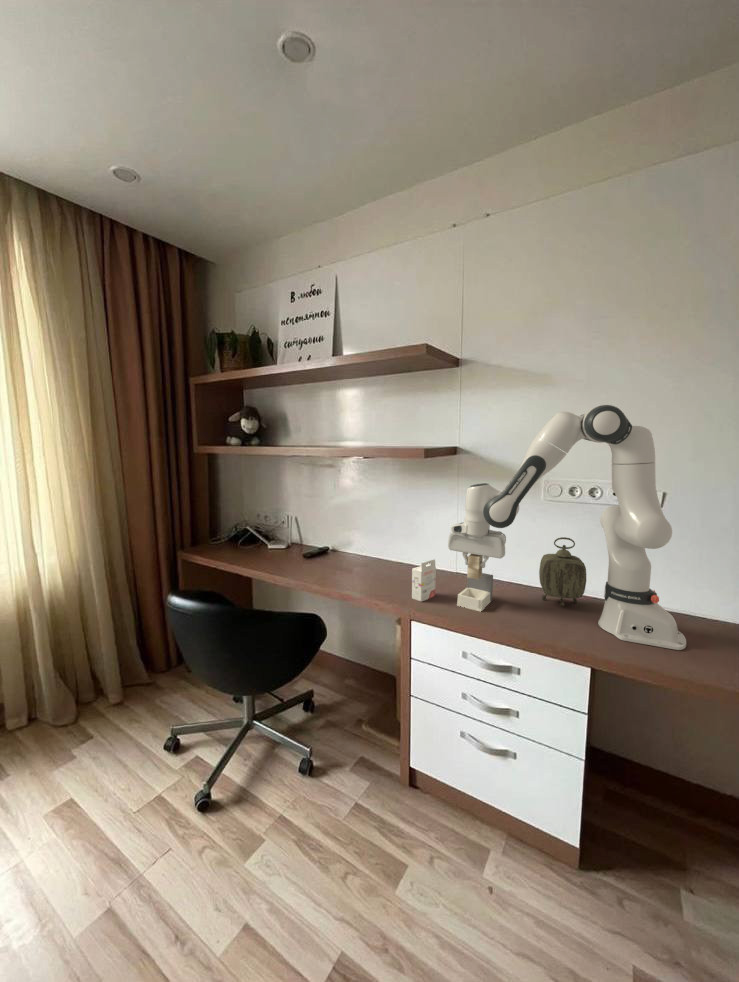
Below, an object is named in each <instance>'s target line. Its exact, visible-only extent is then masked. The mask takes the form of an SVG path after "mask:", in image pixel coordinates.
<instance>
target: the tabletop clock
mask: <svg viewBox="0 0 739 982" xmlns="http://www.w3.org/2000/svg"><path fill="white" fill-rule="evenodd" d="M559 540H560V541H561V540H568V541H571V542H572V543H573V544H572V546H566V545H565V544H563V545H562V546H561V545H557V544H556V542H557V541H559ZM553 545H554V547H556V548H558V550H557V551H556V553H547V554H543V555H542V557H541V560H540V563H539V569H538V570H539V571H538V576H539V583H540V586H541V589H542V591H543V593H544V594H545V595H542V596H541V599H542V600H543V601H544V600H547V596H550V597H554V598H560V602H559V606H560V607H564V606H565V603H564V599H572V602H573V603H574V604H577V602H578V599H579V598H582V597H583V596H584V594H585V591H586V585H587V567H586V564H585V563H584V562H583V560H582V559H581V558H580V557H578V556H576V555H572V553H571V552H570V551H569V550H570V549H573V548H574V547H575V545H576V541H574V540H573V539H572V538H570V537H567V536H566V537H562V536H561V537H557V538H556V539H554V541H553Z"/></svg>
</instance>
